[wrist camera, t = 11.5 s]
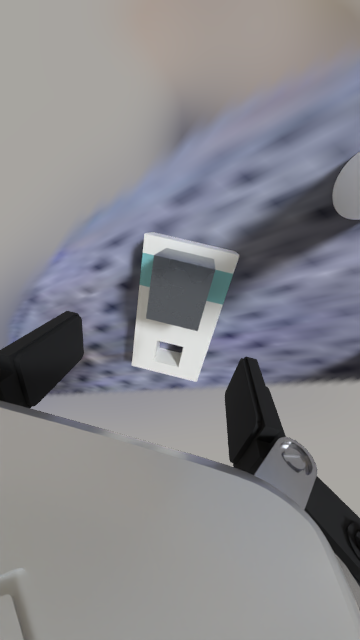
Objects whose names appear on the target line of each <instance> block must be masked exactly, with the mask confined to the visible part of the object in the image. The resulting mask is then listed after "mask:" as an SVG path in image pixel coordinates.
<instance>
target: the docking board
mask: <svg viewBox="0 0 360 640" xmlns="http://www.w3.org/2000/svg"><path fill="white" fill-rule="evenodd" d="M166 248H169V249H173V250H177V251H182V252H186V253H190V254H194V255H199V256H203V257H207V258H212V259H214V262H215V269H216V270H215V273H214V277H213V280H212V283H211V287H210V290H209V294H208V297H207V301H206V304H205V308H204V311H203V314H202V318H201V321H200V325H199V328H198V331H195V330H191V329H186V328H182V327H178V326H174V325H170V324H166V323H162V322H158V321H154V320H150V319H146V314H147V306H148V298H149V290H150V282H151V274H152V266H153V259H154V255H155V254H157V253H158V252H160V251H162V250H164V249H166ZM239 256H240V255H239V254H238V253H237V252H236V251H232V250H228V249H223V248H219V247H215V246H210V245H206V244H202V243H198V242H193V241H189V240H185V239H180V238H176V237H172V236H167V235H163V234H159V233H154V232H151V233H145V234H144V244H143V255H142V265H141V275H140V285H139V296H138V306H137V316H136V326H135V337H134V347H133V357H132V366H136V367H140V368H144V369H148V370H152V371H155V372H159V373H163V374H167V375H171V376H175V377H179V378H183V379H187V380H191V381H195V382H197V379H198V376H199V373H200V370H201V368H202V365H203V362H204V359H205V356H206V353H207V350H208V347H209V344H210V341H211V338H212V335H213V332H214V329H215V326H216V323H217V320H218V318H219V315H220V312H221V309H222V306H223V303H224V300H225V297H226V294H227V291H228V288H229V285H230V282H231V279H232V276H233V273H234V270H235V267H236V265H237V262H238V259H239ZM160 341H161V342H165V343H169V344H173V345H177V346H181V347H183V349H182V353H179V352H175V351H171V350H167V349H163V348H159V346H160Z"/></svg>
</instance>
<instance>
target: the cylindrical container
mask: <svg viewBox="0 0 360 640" xmlns="http://www.w3.org/2000/svg"><path fill="white" fill-rule="evenodd" d="M332 199H333V205H334V208H335V210H336V211H337V212H338V214H340V215H341V216H342V217H344V218H347V219H351V220H360V152H359V153H357V154H356V155H355V156H354V157H352V158H351V159H350V160H349V161H348V162H347V164H346V165H345V166H344V167H343V169H342V170H341V172H340V173H339V175H338V177H337V179H336V182H335V184H334V188H333V195H332Z"/></svg>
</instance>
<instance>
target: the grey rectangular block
mask: <svg viewBox="0 0 360 640" xmlns="http://www.w3.org/2000/svg"><path fill="white" fill-rule="evenodd" d="M215 270H216V269H215V262H214V259H212V258H207V257H203V256H199V255H194V254H190V253H186V252H182V251H177V250H173V249H169V248H166V249H164V250H162V251H160V252H158V253H157V254H155V255H154V259H153V266H152V274H151V282H150V290H149V298H148V306H147V314H146V319H150V320H154V321H158V322H162V323H166V324H170V325H174V326H178V327H182V328H186V329H191V330H195V331H198V328H199V325H200V321H201V318H202V314H203V311H204V308H205V304H206V301H207V297H208V294H209V290H210V287H211V283H212V280H213V277H214V273H215Z"/></svg>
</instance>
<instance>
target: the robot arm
mask: <svg viewBox="0 0 360 640" xmlns="http://www.w3.org/2000/svg"><path fill="white" fill-rule="evenodd" d="M83 354H84V350H83V334H82V319H81V317H79V314H77V313H74V312H70V311H66V312H64V313H62V314H61V315H59V316H57V317H56V318H54V319H52V320H51V321H49V322H47V323H45V324H44V325H42V326H40V327H39V328H37V329H35V330H34V331H32V332H30V333H28V334H27V335H25V336H23V337H22V338H20V339H18V340H17V341H15V342H13V343H11V344H10V345H8V346H6V347H5V348H3V349H1V350H0V640H360V518H359V517H358V516H357V515H356V514H355V513H354V512H353V511H352V510H351V509H350V508H349V507H348V506H347V505H346V504H345V503H344V502H343V501H342V500H340V498H339V497H338V496H337V495H336V494H335V493H334V492H333V491H332V490H331V489H330V488H329V487H327V486H326V485H325V484H324V483H323V482H322V481H321V480H320V479H319V478H318V477H317V467H316V463H315V462H314V459H313V457H312V456H311V455H310V453H309V452H308V451H307V450H306V449H305V448H304V447H303V446H302V445H301V444H300V443H298V442H297V441H295V440H293V439H291V438H288V437H286V436H285V433H284V430H283V428H282V425H281V422H280V419H279V416H278V413H277V410H276V408H275V405H274V402H273V399H272V397H271V393H270V391H269V389H268V388H267V387H266V386H265V383H264V380H263V377H262V374H261V371H260V368H259V365H258V362H257V360H256V359H253V358H249V357H245V358H244V359H243V358H241V359H240V361H239V364H238V366H237V368H236V370H235V372H234V374H233V377H232V379H231V381H230V383H229V385H228V388H227V390H226V392H225V406H226V418H227V433H228V446H229V458H230V462H232V463H233V466H234V467H230V466H228V465H225V464H222V463H218V462H215V461H212V460H209V459H205V458H202V457H199V456H196V455H192V454H189V453H186V452H182V451H179V450H175V449H172V448H168V447H164V446H161V445H158V444H154V443H151V442H147V441H144V440H141V439H137V438H133V437H130V436H126V435H123V434H119V433H116V432H112V431H109V430H105V429H102V428H98V427H95V426H91V425H88V424H84V423H80V422H77V421H73V420H70V419H66V418H62V417H59V416H55V415H52V414H48V413H44V412H41V411H37V410H33V409H30V408H31V407H32V406H35V405H37V404H38V403H39V402H40V401H41V400H42V399H43V398H44V397H45V396H46V395H47V394H48V393H49V392H50V391H51V390H52V389H53V388H54V387H55V385H56V384H57V383H58V382H59V381H60V380H61V379H62V378H63V377H64V376H65V375H66V374H67V373H68V372H69V371H70V370H71V369H72V368H73V367H74V366H75V365H76V364H77V363H78V362H79V361H80V360H81V359H82V357H83Z"/></svg>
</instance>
